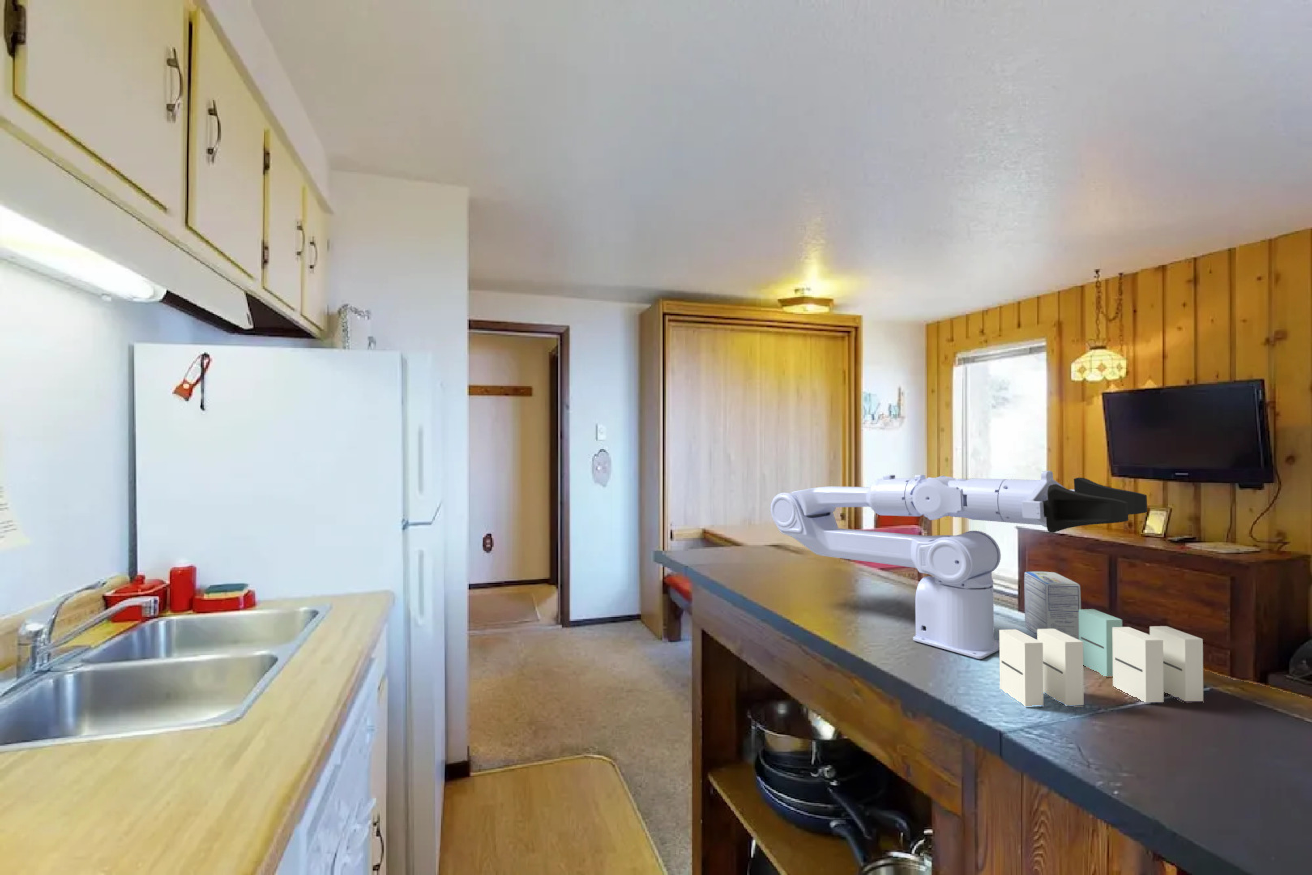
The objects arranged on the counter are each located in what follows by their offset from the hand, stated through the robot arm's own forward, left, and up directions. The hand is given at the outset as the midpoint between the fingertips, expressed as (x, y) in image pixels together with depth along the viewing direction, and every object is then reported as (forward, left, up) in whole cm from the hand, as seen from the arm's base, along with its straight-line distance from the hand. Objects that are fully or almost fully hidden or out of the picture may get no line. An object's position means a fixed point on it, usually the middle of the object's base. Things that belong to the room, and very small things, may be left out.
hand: (1137, 507), depth 67 cm
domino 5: (+3, +3, -21) cm, 22 cm away
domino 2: (-5, -8, -21) cm, 23 cm away
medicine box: (-13, +14, -21) cm, 29 cm away
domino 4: (0, -1, -21) cm, 21 cm away
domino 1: (-8, -12, -21) cm, 26 cm away
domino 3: (-5, +4, -21) cm, 22 cm away
